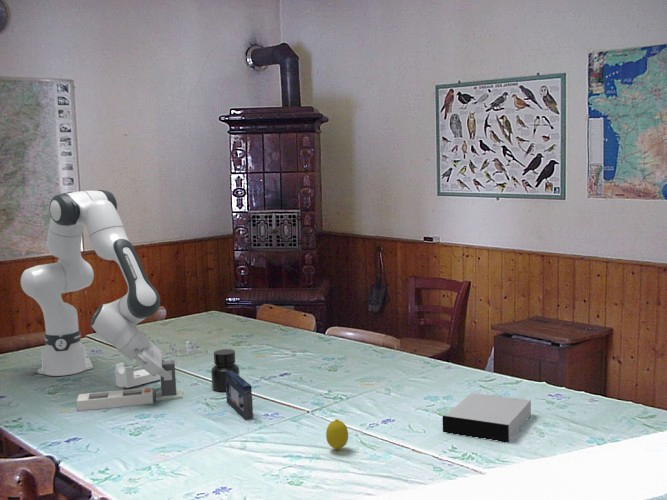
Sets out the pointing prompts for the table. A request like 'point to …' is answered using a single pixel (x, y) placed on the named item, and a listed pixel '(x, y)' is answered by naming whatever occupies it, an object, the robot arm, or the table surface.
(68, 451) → the table surface
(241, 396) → the vhs cassette tape
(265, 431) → the table surface
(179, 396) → the felt pad
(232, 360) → the ink bottle
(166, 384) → the grey square pillar
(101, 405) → the power strip
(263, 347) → the table surface
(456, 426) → the disc drive
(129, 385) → the bracket
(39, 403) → the table surface
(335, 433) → the lemon
